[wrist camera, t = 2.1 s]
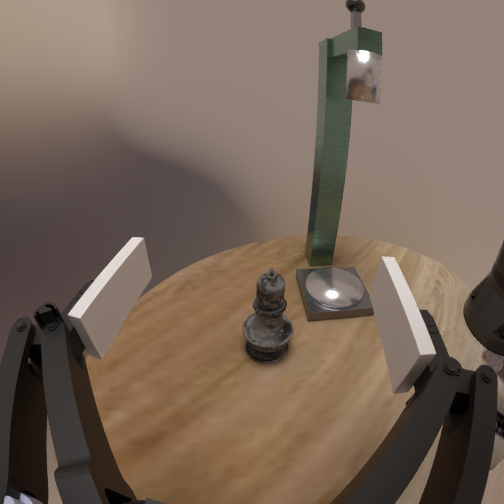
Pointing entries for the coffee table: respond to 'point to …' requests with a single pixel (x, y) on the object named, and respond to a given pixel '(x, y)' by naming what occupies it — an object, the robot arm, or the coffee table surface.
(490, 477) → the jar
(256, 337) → the dark chess piece
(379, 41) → the arbor press
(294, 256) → the coffee table surface
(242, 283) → the coffee table surface
